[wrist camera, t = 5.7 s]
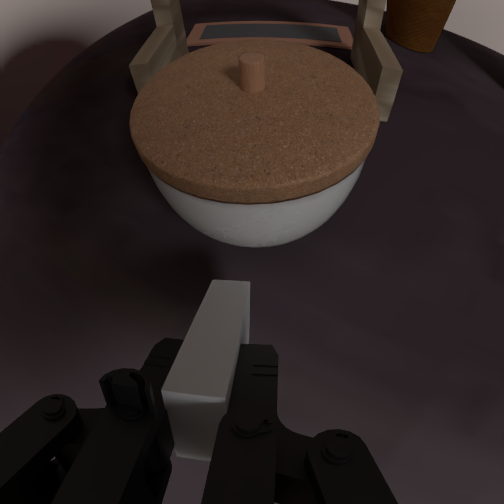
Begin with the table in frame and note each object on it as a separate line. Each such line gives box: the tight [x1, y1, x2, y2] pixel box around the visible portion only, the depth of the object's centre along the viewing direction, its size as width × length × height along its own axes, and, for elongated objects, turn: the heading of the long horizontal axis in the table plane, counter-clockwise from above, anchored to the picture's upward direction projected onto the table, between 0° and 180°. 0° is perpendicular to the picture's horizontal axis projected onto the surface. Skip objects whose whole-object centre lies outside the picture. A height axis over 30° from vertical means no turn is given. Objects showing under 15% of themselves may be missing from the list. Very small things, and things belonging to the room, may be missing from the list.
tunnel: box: [129, 0, 403, 122], centre depth 18 cm, size 19×10×14 cm, turn 86°
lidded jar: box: [129, 39, 380, 247], centre depth 15 cm, size 11×11×9 cm
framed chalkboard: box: [187, 21, 353, 50], centre depth 29 cm, size 18×6×1 cm, turn 86°
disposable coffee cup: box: [385, 0, 456, 53], centre depth 24 cm, size 10×10×12 cm
